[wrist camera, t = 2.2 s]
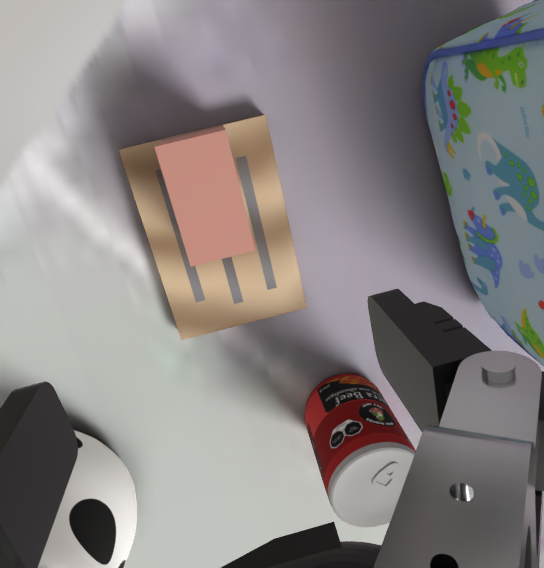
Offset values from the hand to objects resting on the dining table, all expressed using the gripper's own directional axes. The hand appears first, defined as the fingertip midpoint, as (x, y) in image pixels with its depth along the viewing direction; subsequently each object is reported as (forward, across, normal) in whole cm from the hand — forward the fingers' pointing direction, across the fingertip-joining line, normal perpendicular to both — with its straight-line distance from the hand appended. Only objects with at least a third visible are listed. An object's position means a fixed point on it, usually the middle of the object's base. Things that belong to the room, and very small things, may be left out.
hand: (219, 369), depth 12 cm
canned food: (+29, -7, +24) cm, 38 cm away
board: (+28, 0, +4) cm, 28 cm away
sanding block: (+27, 0, 0) cm, 27 cm away
